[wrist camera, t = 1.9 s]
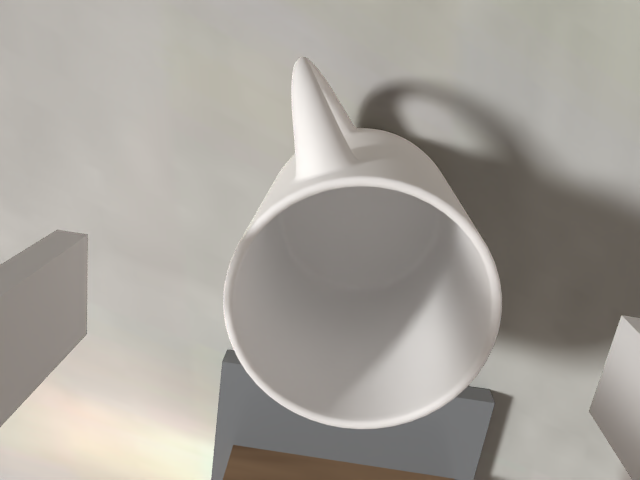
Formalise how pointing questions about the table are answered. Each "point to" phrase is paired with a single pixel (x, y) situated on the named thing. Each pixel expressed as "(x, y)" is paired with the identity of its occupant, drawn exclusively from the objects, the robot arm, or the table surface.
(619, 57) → the table surface
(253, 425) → the slate tile
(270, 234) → the mug
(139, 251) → the table surface
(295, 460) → the walnut block
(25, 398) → the robot arm
